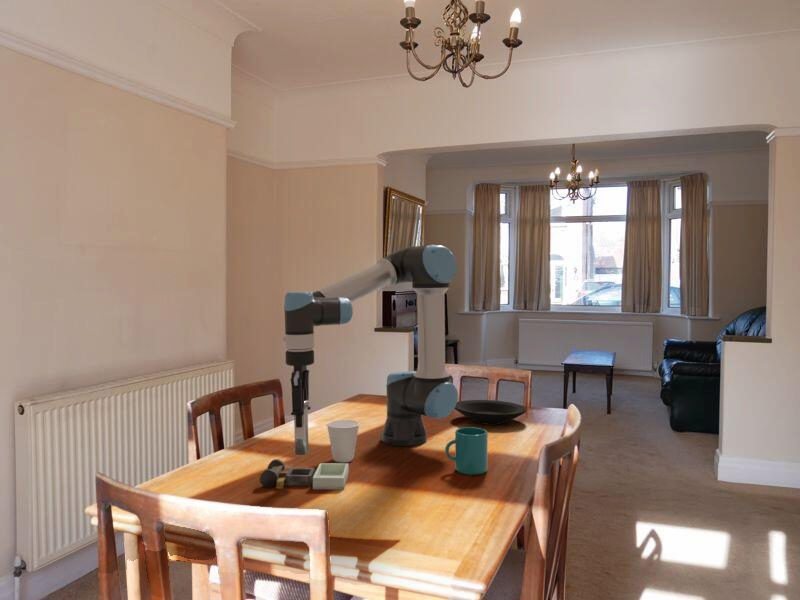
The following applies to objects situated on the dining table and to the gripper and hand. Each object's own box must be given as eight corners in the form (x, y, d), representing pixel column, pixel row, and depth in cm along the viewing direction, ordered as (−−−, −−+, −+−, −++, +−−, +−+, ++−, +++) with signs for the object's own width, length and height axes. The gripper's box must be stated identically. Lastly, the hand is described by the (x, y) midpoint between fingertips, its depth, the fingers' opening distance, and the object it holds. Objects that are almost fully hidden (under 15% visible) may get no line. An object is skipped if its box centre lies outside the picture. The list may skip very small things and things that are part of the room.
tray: (348, 474, 166) (348, 463, 166) (343, 489, 154) (343, 478, 154) (319, 473, 166) (319, 463, 166) (312, 489, 154) (312, 477, 154)
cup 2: (442, 466, 173) (442, 427, 173) (482, 464, 175) (483, 426, 174) (448, 476, 164) (448, 436, 164) (490, 475, 166) (491, 434, 165)
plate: (535, 419, 230) (535, 405, 230) (512, 433, 210) (512, 417, 209) (469, 410, 245) (469, 397, 245) (441, 423, 225) (441, 408, 224)
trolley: (315, 475, 165) (315, 459, 165) (309, 488, 155) (309, 471, 155) (269, 474, 166) (268, 459, 166) (259, 488, 155) (259, 471, 155)
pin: (311, 450, 163) (310, 399, 162) (308, 455, 158) (307, 402, 158) (295, 450, 163) (294, 399, 162) (291, 455, 158) (290, 403, 158)
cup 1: (364, 456, 182) (364, 421, 182) (351, 466, 173) (351, 428, 173) (335, 453, 186) (335, 418, 185) (320, 463, 176) (320, 426, 176)
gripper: (291, 345, 168) (293, 428, 169) (278, 354, 151) (280, 445, 152) (318, 345, 167) (320, 428, 169) (308, 353, 151) (310, 445, 152)
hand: (301, 436), depth 160 cm, fingers closed on pin, 3 cm apart
